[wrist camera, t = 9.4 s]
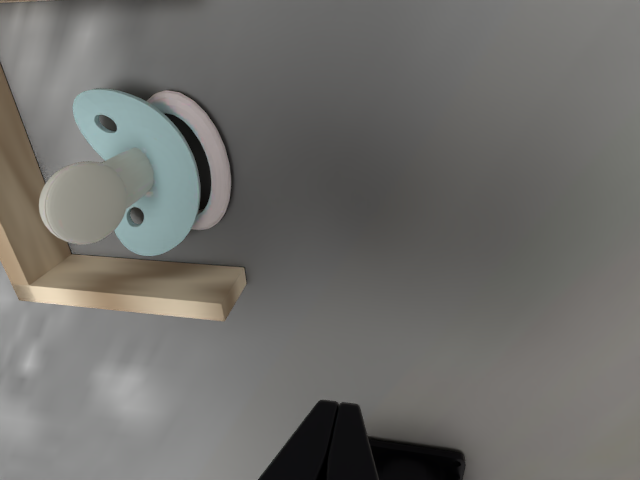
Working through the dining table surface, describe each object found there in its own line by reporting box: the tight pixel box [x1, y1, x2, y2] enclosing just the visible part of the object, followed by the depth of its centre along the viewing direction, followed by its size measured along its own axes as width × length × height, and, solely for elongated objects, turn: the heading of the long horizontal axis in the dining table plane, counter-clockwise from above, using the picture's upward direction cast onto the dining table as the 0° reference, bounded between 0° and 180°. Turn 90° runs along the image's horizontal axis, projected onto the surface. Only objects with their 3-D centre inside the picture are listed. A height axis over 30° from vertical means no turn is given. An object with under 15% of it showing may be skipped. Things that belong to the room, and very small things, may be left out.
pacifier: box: [39, 88, 231, 256], centre depth 17 cm, size 7×6×6 cm
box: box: [0, 0, 247, 321], centre depth 18 cm, size 11×14×3 cm
